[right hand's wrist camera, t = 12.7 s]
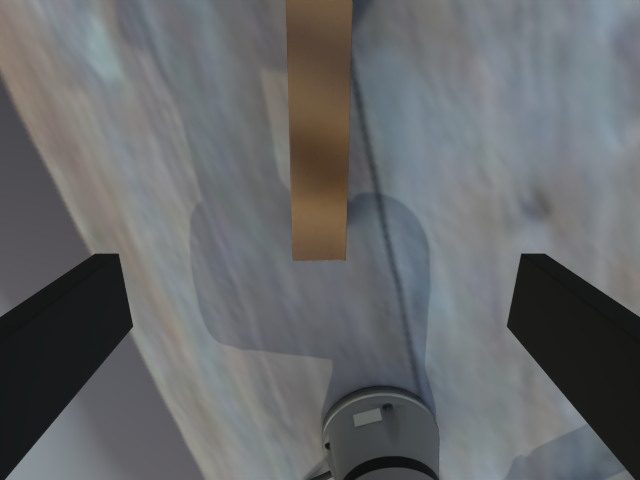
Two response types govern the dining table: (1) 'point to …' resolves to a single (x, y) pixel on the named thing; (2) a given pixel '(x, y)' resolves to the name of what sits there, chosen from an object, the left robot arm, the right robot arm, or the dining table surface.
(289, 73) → the beam
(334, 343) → the dining table surface
